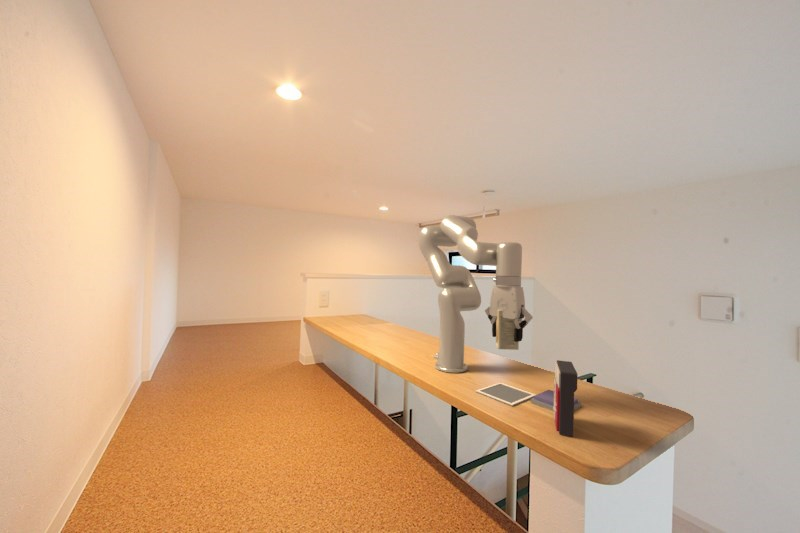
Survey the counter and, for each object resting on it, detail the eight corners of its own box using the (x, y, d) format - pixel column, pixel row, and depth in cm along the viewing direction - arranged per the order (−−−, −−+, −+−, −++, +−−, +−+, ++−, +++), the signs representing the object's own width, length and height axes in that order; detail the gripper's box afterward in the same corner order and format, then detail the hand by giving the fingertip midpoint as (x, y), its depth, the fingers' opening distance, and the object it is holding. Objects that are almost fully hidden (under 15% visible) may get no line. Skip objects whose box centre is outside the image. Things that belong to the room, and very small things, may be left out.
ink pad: (530, 402, 95) (530, 395, 95) (547, 394, 101) (547, 388, 101) (565, 415, 87) (565, 407, 87) (581, 406, 93) (581, 399, 93)
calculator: (552, 415, 87) (553, 359, 87) (570, 418, 85) (571, 361, 85) (555, 434, 77) (557, 371, 77) (576, 438, 75) (577, 373, 75)
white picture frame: (475, 392, 102) (475, 390, 102) (500, 383, 110) (500, 382, 110) (512, 406, 92) (512, 404, 92) (536, 396, 100) (536, 394, 100)
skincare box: (515, 347, 103) (516, 308, 103) (518, 350, 99) (520, 310, 99) (494, 345, 104) (495, 307, 104) (497, 349, 99) (498, 309, 99)
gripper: (478, 280, 106) (476, 334, 106) (527, 283, 92) (525, 346, 92) (492, 280, 110) (490, 332, 110) (541, 283, 97) (539, 342, 97)
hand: (506, 338), depth 101 cm, fingers closed on skincare box, 7 cm apart
